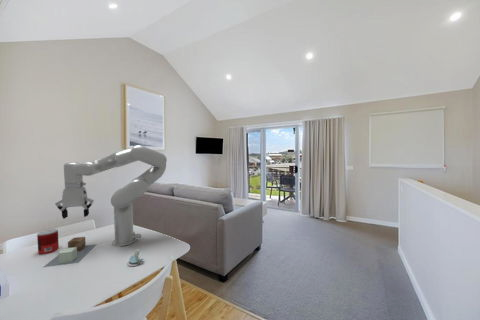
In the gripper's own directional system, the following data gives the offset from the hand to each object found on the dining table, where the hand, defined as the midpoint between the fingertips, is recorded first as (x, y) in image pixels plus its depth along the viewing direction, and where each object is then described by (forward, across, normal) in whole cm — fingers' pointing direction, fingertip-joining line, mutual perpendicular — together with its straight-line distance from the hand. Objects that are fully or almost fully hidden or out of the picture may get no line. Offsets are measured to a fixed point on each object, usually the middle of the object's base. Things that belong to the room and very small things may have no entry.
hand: (75, 216), depth 108 cm
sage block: (+18, -2, +12) cm, 22 cm away
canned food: (+18, +14, -2) cm, 23 cm away
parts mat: (+18, -1, +6) cm, 19 cm away
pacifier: (+19, -34, +23) cm, 45 cm away
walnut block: (+18, 0, 0) cm, 18 cm away
